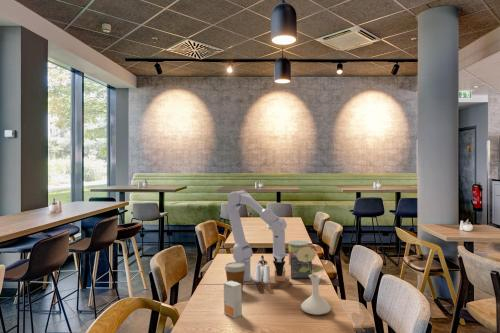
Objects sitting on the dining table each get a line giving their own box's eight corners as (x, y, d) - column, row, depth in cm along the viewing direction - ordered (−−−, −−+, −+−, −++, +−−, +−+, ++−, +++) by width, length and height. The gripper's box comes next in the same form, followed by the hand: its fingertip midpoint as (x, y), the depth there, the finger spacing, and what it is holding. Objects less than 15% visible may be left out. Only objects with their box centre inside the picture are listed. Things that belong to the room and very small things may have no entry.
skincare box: (223, 313, 138) (223, 282, 138) (231, 310, 141) (231, 280, 141) (234, 318, 134) (233, 286, 134) (242, 314, 137) (242, 283, 137)
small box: (311, 275, 184) (311, 254, 184) (312, 279, 178) (312, 258, 178) (290, 274, 185) (290, 254, 185) (290, 278, 179) (290, 257, 179)
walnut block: (270, 289, 166) (269, 282, 166) (270, 282, 175) (270, 276, 175) (289, 289, 166) (289, 282, 166) (288, 282, 175) (288, 276, 174)
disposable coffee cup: (243, 295, 157) (243, 268, 157) (222, 294, 159) (222, 267, 159) (247, 288, 167) (247, 262, 166) (228, 286, 169) (227, 261, 168)
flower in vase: (331, 307, 143) (330, 244, 143) (330, 319, 132) (329, 251, 132) (298, 304, 147) (297, 243, 146) (294, 315, 136) (293, 249, 135)
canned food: (289, 266, 200) (289, 245, 200) (288, 261, 211) (287, 240, 211) (309, 266, 200) (309, 244, 199) (307, 260, 211) (307, 240, 211)
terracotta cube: (274, 281, 168) (274, 270, 168) (274, 277, 173) (274, 267, 173) (285, 281, 168) (285, 270, 168) (285, 277, 173) (284, 267, 173)
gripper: (287, 248, 163) (288, 278, 163) (287, 241, 177) (287, 268, 177) (272, 248, 163) (272, 278, 163) (272, 241, 178) (273, 268, 178)
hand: (279, 273), depth 170 cm, fingers open, 7 cm apart
